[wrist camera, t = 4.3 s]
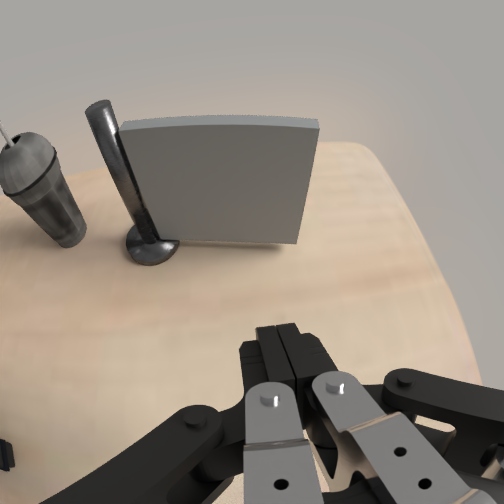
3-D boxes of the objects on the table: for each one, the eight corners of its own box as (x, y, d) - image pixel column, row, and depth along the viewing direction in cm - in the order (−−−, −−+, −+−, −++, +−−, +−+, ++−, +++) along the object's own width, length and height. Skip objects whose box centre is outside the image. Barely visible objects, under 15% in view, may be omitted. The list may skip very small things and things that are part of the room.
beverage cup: (89, 201, 36) (27, 76, 18) (102, 238, 32) (23, 97, 15) (46, 228, 33) (-28, 114, 16) (54, 267, 30) (-43, 146, 13)
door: (160, 239, 30) (118, 131, 18) (165, 221, 32) (129, 113, 20) (296, 244, 30) (319, 128, 18) (295, 225, 31) (315, 110, 19)
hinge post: (123, 264, 31) (47, 138, 16) (136, 220, 34) (83, 93, 19) (174, 267, 30) (118, 126, 15) (183, 220, 34) (147, 82, 19)
